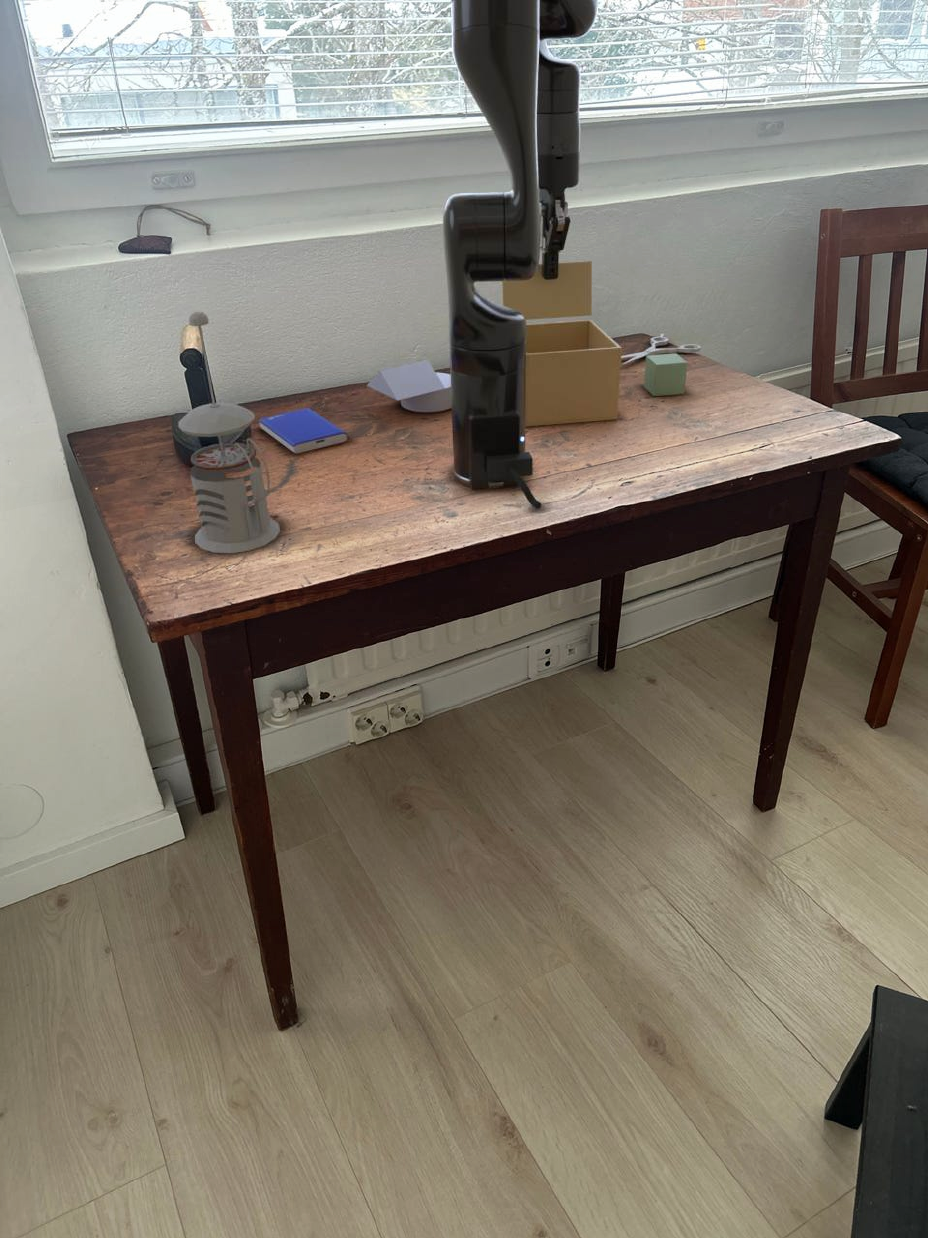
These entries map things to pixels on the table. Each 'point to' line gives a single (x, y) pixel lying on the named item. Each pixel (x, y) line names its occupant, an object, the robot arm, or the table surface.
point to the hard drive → (302, 430)
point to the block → (665, 374)
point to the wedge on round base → (415, 386)
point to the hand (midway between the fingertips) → (549, 278)
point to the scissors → (663, 341)
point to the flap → (552, 293)
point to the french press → (222, 497)
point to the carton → (571, 373)
